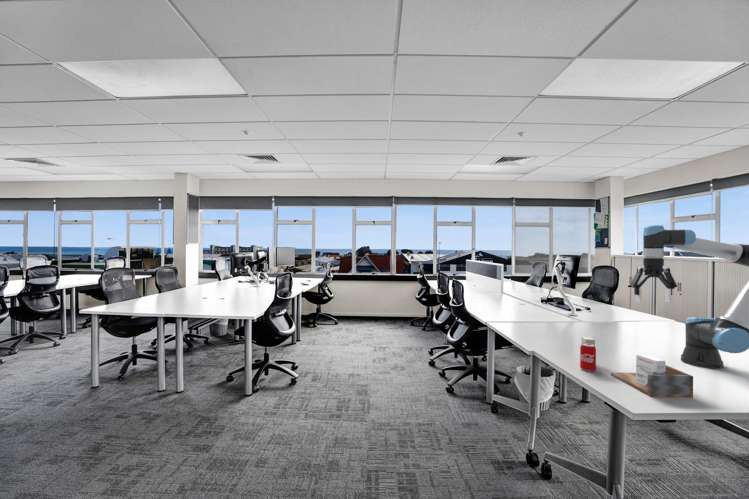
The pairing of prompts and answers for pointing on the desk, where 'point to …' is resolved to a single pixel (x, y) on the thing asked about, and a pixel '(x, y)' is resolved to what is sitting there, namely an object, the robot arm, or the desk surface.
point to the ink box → (648, 368)
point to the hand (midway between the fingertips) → (653, 302)
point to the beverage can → (588, 357)
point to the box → (588, 340)
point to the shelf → (661, 383)
